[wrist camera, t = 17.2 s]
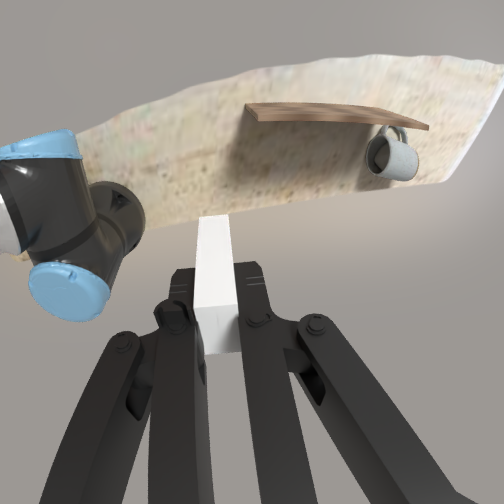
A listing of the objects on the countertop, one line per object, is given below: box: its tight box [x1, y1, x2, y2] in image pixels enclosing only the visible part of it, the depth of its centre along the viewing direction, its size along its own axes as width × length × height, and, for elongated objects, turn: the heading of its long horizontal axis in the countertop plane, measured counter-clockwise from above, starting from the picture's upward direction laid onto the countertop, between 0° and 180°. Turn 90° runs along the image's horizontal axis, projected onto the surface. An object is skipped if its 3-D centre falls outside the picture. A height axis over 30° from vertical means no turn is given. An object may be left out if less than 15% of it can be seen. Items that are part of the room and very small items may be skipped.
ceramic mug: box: [366, 125, 419, 181], centre depth 45 cm, size 11×8×8 cm
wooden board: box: [245, 103, 429, 131], centre depth 37 cm, size 24×1×15 cm, turn 92°
